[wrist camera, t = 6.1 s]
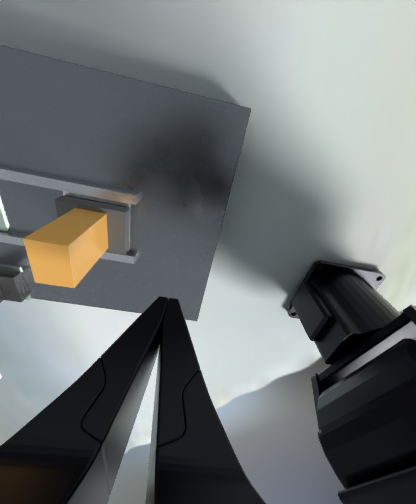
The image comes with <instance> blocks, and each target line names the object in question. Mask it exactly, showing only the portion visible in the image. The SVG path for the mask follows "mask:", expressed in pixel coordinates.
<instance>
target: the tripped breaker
mask: <svg viewBox="0 0 416 504" xmlns="http://www.w3.org/2000/svg"><path fill="white" fill-rule="evenodd" d="M55 205H56V211H57V216H58V218H57V219H55V220H54V221H52V222H50V223H49V224H47V225H45V226H43V227H42V228H40V229H38V230H37V231H35V232H33V233H32V234H30V235H28V236H26V237H25V238H23V241H24V245H25V248H26V252H27V255H28V259H29V262H30V266H31V270H32V273H33V277H34V280H35V283H42V284H49V285H56V286H63V287H69V288H75V287H76V286H77V284H78V283H79V282H80V281H81V280H82V279H83V277H84V276H85V275H86V274H87V273H88V271H89V270H90V269H91V268H92V267H93V266H94V264H95V263H96V262H97V261H98V260H99V258H100V257H101V256H102V255H103V254H104V252H105V251H106V252H112V253H118V254H124V255H126V253H127V251H128V250H129V231H130V208H126V207H121V206H116V205H110V204H105V203H100V202H95V201H89V200H84V199H79V198H73V197H68V196H61V197H59V198H56V199H55Z"/></svg>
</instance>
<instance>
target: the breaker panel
mask: <svg viewBox="0 0 416 504" xmlns="http://www.w3.org/2000/svg"><path fill="white" fill-rule="evenodd" d="M250 112H251V108H247V107H243V106H239V105H235V104H231V103H227V102H223V101H219V100H215V99H211V98H207V97H203V96H199V95H195V94H191V93H187V92H184V91H180V90H176V89H172V88H168V87H164V86H160V85H156V84H152V83H148V82H144V81H140V80H136V79H132V78H128V77H124V76H120V75H116V74H113V73H109V72H105V71H101V70H97V69H93V68H89V67H85V66H81V65H77V64H73V63H69V62H65V61H61V60H57V59H53V58H49V57H45V56H41V55H38V54H34V53H30V52H26V51H22V50H18V49H14V48H10V47H6V46H2V45H0V303H1V302H2V301H3V300H10V301H17V302H22V301H23V300H24V299H30V298H35V299H42V300H49V301H56V302H64V303H71V304H78V305H85V306H92V307H100V308H107V309H114V310H121V311H128V312H135V313H143V312H144V311H145V310H146V309H147V308H148V307H149V306H150V305H151V304H152V303H153V302H154V301H155V300H156V299H157V298H158V297H159V296H162V297H168V299H169V298H175V299H178V300H179V302H180V306H181V309H182V312H183V315H184V318H185V319H186V320H193V321H197V319H198V315H199V311H200V307H201V303H202V300H203V296H204V292H205V288H206V284H207V280H208V276H209V272H210V268H211V264H212V260H213V257H214V253H215V249H216V245H217V241H218V237H219V233H220V229H221V225H222V221H223V217H224V214H225V210H226V206H227V202H228V198H229V194H230V190H231V186H232V182H233V178H234V174H235V171H236V167H237V163H238V159H239V155H240V151H241V147H242V143H243V139H244V135H245V131H246V128H247V124H248V120H249V116H250ZM61 196H68V197H73V198H79V199H84V200H89V201H95V202H100V203H105V204H110V205H116V206H121V207H126V208H130V231H129V250H128V251H127V253H126V255H124V254H118V253H112V252H106V251H105V252H104V254H103V255H102V256H101V257H100V258H99V260H98V261H97V262H96V263H95V264H94V266H93V267H92V268H91V269H90V270H89V271H88V273H87V274H86V275H85V276H84V277H83V279H82V280H81V281H80V282H79V283H78V284H77V286H76V287H75V288H69V287H63V286H56V285H49V284H42V283H35V280H34V277H33V273H32V270H31V266H30V262H29V259H28V255H27V252H26V248H25V245H24V241H23V238H25V237H26V236H28V235H30V234H32V233H33V232H35V231H37V230H38V229H40V228H42V227H43V226H45V225H47V224H49V223H50V222H52V221H54V220H55V219H57V218H58V216H57V211H56V205H55V199H56V198H59V197H61Z"/></svg>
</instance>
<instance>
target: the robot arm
mask: <svg viewBox="0 0 416 504" xmlns="http://www.w3.org/2000/svg"><path fill="white" fill-rule="evenodd" d="M319 266H321V267H319ZM318 267H319V268H318ZM384 279H385V275H384V274H383V273H382V272H380V271H375V270H370V269H364V268H359V267H353V266H347V265H342V264H336V263H331V262H325V261H316V262H315V263H314V264H313V265H312V267H311V269H310V271H309V272H308V274H307V276H306V278H305V280H304V281H303V283H302V284H301V286H300V288H299V290H298V292H297V293H296V295H295V297H294V299H293V301H292V303H291V305H290V307H289V308H288V310H287V312H288V315H289V316H290V317H292V318H299V319H300V321H301V323H302V325H303V327H304V329H305V331H306V333H307V335H308V337H309V339H310V340H311V341H314V342H315V344H316V346H317V348H318V350H319V352H320V354H321V356H322V357H323V359H324V361H325V363H326V364H331V365H330V366H329V367H327V368H326V369H324V370H323V371H322V372H320V373H319V374H315V375H314V376H312V377H311V380H312V388H313V394H314V400H315V407H316V413H317V420H318V427H319V432H318V437H319V441H320V444H321V446H322V449H323V451H324V454H325V456H326V458H327V460H328V462H329V464H330V466H331V468H332V469H333V471H334V473H335V475H336V476H337V478H338V480H339V481H340V483H341V484H342V486H343V487H344V489H342V490H339V491H338V496H339V498H340V500H341V502H342V503H343V504H416V307H415V306H412V305H410V306H408V307H407V308H405V309H404V310H403V313H402V314H400V313H399V312H398V311H397V310H396V309H395V308H394V307H393V306H392V305H391V304H390V303H389V302H388V301H387V300H385V299H384V298H383V297H382V296H381V295H380V294H379V293H378V292H377V291H376V289H377V288H378V287H379V286H380V284H381V283H382V282H383V281H384ZM292 312H293V313H292ZM159 346H160V347H159ZM158 351H159V355H158V366H157V377H156V389H155V400H154V411H153V423H152V434H151V446H150V457H149V468H148V481H147V491H146V503H145V504H266V503H265V501H264V500H263V499H262V497H261V496H260V495H259V493H258V492H257V491H256V489H255V488H254V487H253V486H252V484H251V482H250V481H249V479H248V478H247V476H246V475H245V473H244V471H243V469H242V467H241V465H240V463H239V461H238V459H237V457H236V455H235V453H234V450H233V448H232V446H231V444H230V442H229V440H228V437H227V435H226V433H225V431H224V428H223V426H222V424H221V421H220V419H219V417H218V415H217V412H216V410H215V408H214V405H213V403H212V400H211V398H210V396H209V393H208V390H207V387H206V384H205V381H204V378H203V375H202V372H201V370H200V366H199V363H198V360H197V356H196V353H195V350H194V347H193V344H192V341H191V337H190V334H189V331H188V328H187V325H186V321H185V318H184V315H183V312H182V309H181V306H180V302H179V300H178V299H175V298H169V299H168V297H162V296H159V297H158V298H157V299H156V300H155V301H154V302H153V303H152V304H151V305H150V306H149V307H148V308H147V309H146V310H145V311H144V312H143V313H142V314H141V315H140V316H139V317H138V318H137V319H136V320H135V321H134V323H133V324H132V325H131V326H130V327H129V328H128V329H127V330H126V331H125V332H124V333H123V334H122V335H121V336H120V337H119V338H118V339H117V340H116V341H115V342H114V343H113V344H112V345H111V346H110V347H109V348H108V349H107V350H106V351H105V352H104V353H103V355H102V356H101V358H99V359H98V360H97V361H96V362H95V363H94V364H93V365H92V366H91V367H90V368H89V369H88V370H87V371H86V372H85V373H84V374H83V375H82V376H81V377H80V378H79V379H78V380H77V381H75V382H74V383H73V384H72V385H71V386H70V387H69V388H68V389H66V390H65V391H64V392H63V393H62V394H61V395H60V396H59V397H57V398H56V399H55V400H54V401H53V402H52V403H50V404H49V405H48V406H47V407H46V408H45V409H44V410H42V411H41V412H40V413H39V414H38V415H37V416H35V417H34V418H33V419H32V420H31V421H30V422H28V423H27V424H26V425H25V426H24V427H23V428H21V429H20V430H19V431H18V432H17V433H16V434H14V435H13V436H12V437H11V438H10V439H9V440H7V441H6V442H5V443H4V444H2V445H1V446H0V504H107V502H108V500H109V495H110V493H111V491H112V487H113V485H114V482H115V479H116V476H117V473H118V469H119V467H120V464H121V461H122V458H123V455H124V452H125V449H126V446H127V443H128V440H129V437H130V434H131V431H132V428H133V425H134V422H135V419H136V416H137V413H138V410H139V408H140V405H141V402H142V399H143V396H144V393H145V390H146V387H147V384H148V381H149V378H150V375H151V372H152V369H153V366H154V363H155V360H156V357H157V354H158Z"/></svg>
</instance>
